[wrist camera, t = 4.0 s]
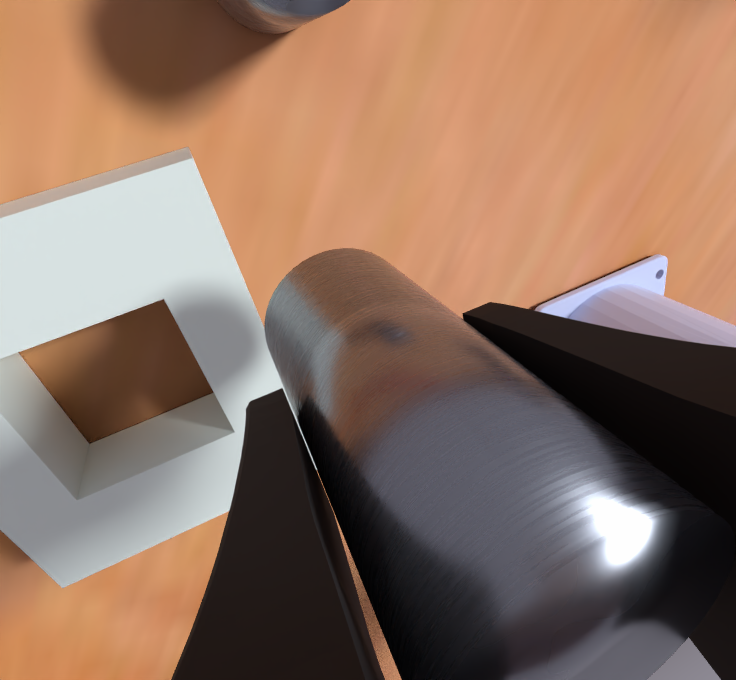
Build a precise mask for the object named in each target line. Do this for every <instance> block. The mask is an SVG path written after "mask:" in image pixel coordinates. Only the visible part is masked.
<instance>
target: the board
mask: <svg viewBox="0 0 736 680" xmlns="http://www.w3.org/2000/svg"><path fill="white" fill-rule="evenodd" d="M162 299H164V300H165V302H166V304H167V306H168V308H169V309H170V311H171V313H172V315H173V317H174V319H175V321H176V323H177V324H178V326H179V328H180V330H181V332H182V334H183V336H184V338H185V339H186V341H187V343H188V345H189V347H190V349H191V351H192V353H193V354H194V356H195V358H196V360H197V362H198V364H199V366H200V368H201V369H202V371H203V373H204V375H205V377H206V379H207V381H208V383H209V384H210V386H211V388H212V390H213V392H214V393H211V394H209V395H207V396H204V397H202V398H199V399H197V400H195V401H192V402H190V403H187V404H185V405H182V406H180V407H178V408H175V409H173V410H170V411H168V412H165V413H163V414H161V415H158V416H156V417H153V418H151V419H148V420H146V421H144V422H141V423H139V424H136V425H134V426H131V427H129V428H127V429H124V430H122V431H119V432H117V433H115V434H112V435H110V436H107V437H105V438H102V439H100V440H98V441H95V442H93V443H90V444H89V443H88V442H87V440H86V439H85V438H84V437H83V435H82V434H81V433H80V431H79V430H78V429H77V428H76V426H75V425H74V424H73V422H72V421H71V420H70V419H69V417H68V416H67V415H66V413H65V412H64V411H63V409H62V408H61V407H60V406H59V404H58V403H57V402H56V400H55V399H54V398H53V397H52V395H51V394H50V393H49V391H48V390H47V389H46V388H45V386H44V385H43V384H42V382H41V381H40V380H39V379H38V377H37V376H36V375H35V373H34V372H33V371H32V370H31V368H30V367H29V366H28V364H27V363H26V362H25V361H24V359H23V358H22V357H21V355H20V354H19V353H18V352H21V351H23V350H26V349H29V348H31V347H34V346H37V345H40V344H42V343H45V342H48V341H51V340H53V339H56V338H59V337H61V336H64V335H67V334H70V333H72V332H75V331H78V330H81V329H83V328H86V327H89V326H91V325H94V324H97V323H100V322H102V321H105V320H108V319H111V318H113V317H116V316H119V315H121V314H124V313H127V312H130V311H132V310H135V309H138V308H141V307H143V306H146V305H149V304H151V303H154V302H157V301H160V300H162ZM281 388H283V390H284V393H285V395H286V397H287V394H286V392H285V389H284V387H283V384H282V382H281V379H280V377H279V374H278V372H277V369H276V367H275V364H274V362H273V359H272V357H271V355H270V352H269V350H268V346H267V343H266V338H265V329H264V326H263V324H262V321H261V319H260V317H259V314H258V312H257V309H256V307H255V305H254V302H253V300H252V298H251V295H250V293H249V290H248V288H247V286H246V283H245V281H244V278H243V276H242V274H241V271H240V269H239V266H238V264H237V262H236V259H235V257H234V255H233V252H232V250H231V247H230V245H229V243H228V240H227V238H226V235H225V233H224V231H223V228H222V226H221V223H220V221H219V219H218V216H217V214H216V212H215V209H214V207H213V204H212V202H211V200H210V197H209V195H208V192H207V190H206V188H205V185H204V183H203V180H202V178H201V176H200V173H199V171H198V169H197V166H196V164H195V161H194V159H193V157H192V154H191V152H190V149H189V147H185V148H182V149H179V150H176V151H172V152H169V153H166V154H163V155H159V156H156V157H153V158H150V159H146V160H143V161H140V162H137V163H133V164H130V165H127V166H124V167H121V168H117V169H114V170H111V171H108V172H104V173H101V174H98V175H95V176H91V177H88V178H85V179H82V180H78V181H75V182H72V183H69V184H65V185H62V186H59V187H56V188H52V189H49V190H46V191H43V192H39V193H36V194H33V195H30V196H26V197H23V198H20V199H17V200H13V201H10V202H7V203H4V204H0V530H1V531H2V532H3V533H4V534H5V535H6V536H7V537H9V538H10V539H11V540H12V541H13V542H14V543H15V544H16V545H17V546H18V547H19V548H20V549H21V550H22V551H23V552H25V553H26V554H27V555H28V556H29V557H30V558H31V559H32V560H33V561H34V562H35V563H36V564H37V565H38V566H39V567H41V568H42V569H43V570H44V571H45V572H46V573H47V574H48V575H49V576H50V577H51V578H52V579H53V580H54V581H55V582H57V583H58V584H59V585H60V586H61V587H62V588H64V587H66V586H68V585H70V584H73V583H75V582H77V581H79V580H81V579H83V578H86V577H88V576H90V575H92V574H94V573H96V572H98V571H101V570H103V569H105V568H107V567H109V566H111V565H114V564H116V563H118V562H120V561H122V560H124V559H126V558H129V557H131V556H133V555H135V554H137V553H139V552H142V551H144V550H146V549H148V548H150V547H152V546H154V545H157V544H159V543H161V542H163V541H165V540H167V539H170V538H172V537H174V536H176V535H178V534H180V533H182V532H185V531H187V530H189V529H191V528H193V527H195V526H198V525H200V524H202V523H204V522H206V521H208V520H211V519H213V518H215V517H217V516H219V515H221V514H223V513H226V512H228V511H229V510H230V506H231V502H232V498H233V494H234V489H235V484H236V479H237V474H238V469H239V464H240V459H241V453H242V446H243V440H244V432H245V420H246V408H247V406H248V404H249V402H250V401H252V400H254V399H257V398H259V397H262V396H264V395H267V394H269V393H271V392H274V391H276V390H279V389H281ZM287 400H288V402H289V399H288V397H287ZM289 405H290V407H291V404H290V402H289ZM291 410H292V412H293V414H294V411H293V409H292V407H291ZM294 417H295V419H296V416H295V414H294ZM296 422H297V424H298V421H297V419H296ZM298 427H299V429H300V426H299V424H298ZM300 432H301V434H302V431H301V429H300ZM302 436H303V434H302ZM303 439H304V436H303ZM304 441H305V439H304ZM305 444H306V441H305ZM306 446H307V444H306ZM307 449H308V446H307ZM308 451H309V449H308ZM309 453H310V451H309ZM310 456H311V454H310ZM311 458H312V456H311ZM312 461H313V458H312ZM313 463H314V461H313ZM314 466H315V463H314ZM315 468H316V466H315ZM316 470H317V468H316Z"/></svg>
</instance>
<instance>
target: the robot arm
mask: <svg viewBox="0 0 736 680" xmlns="http://www.w3.org/2000/svg"><path fill="white" fill-rule="evenodd" d="M667 263H668V261H667V257H666V256H663V255H660V254H656V255H654V256H651V257H649V258H647V259H645V260H642V261H640V262H638V263H635V264H633V265H631V266H628V267H626V268H624V269H622V270H619V271H617V272H615V273H612V274H610V275H608V276H605V277H603V278H601V279H599V280H596V281H594V282H592V283H589V284H587V285H585V286H582V287H580V288H578V289H576V290H573V291H571V292H569V293H566V294H564V295H562V296H559V297H557V298H555V299H553V300H550V301H548V302H546V303H543V304H541V305H539V306H538V307H537V308H536V309H535V310H529V309H525V308H520V307H515V306H510V305H505V304H499V303H492V302H489V303H487V304H484V305H482V306H480V307H477V308H475V309H472V310H470V311H467V312H465V313H463V320H464V321H465V322H467V323H468V324H469V325H471V326H472V327H473V328H475V329H476V330H477V331H479V332H480V333H481V334H482V335H484V336H485V337H486V338H488V339H489V340H490V341H492V342H493V343H494V344H496V345H497V346H498V347H499V348H501V349H502V350H503V351H505V352H506V353H507V354H509V355H510V356H511V357H513V358H514V359H515V360H516V361H518V362H519V363H520V364H522V365H523V366H524V367H526V368H527V369H528V370H530V371H531V372H532V373H534V374H535V375H536V376H537V377H539V378H540V379H541V380H543V381H544V382H545V383H547V384H548V385H549V386H551V387H552V388H553V389H554V390H556V391H557V392H558V393H560V394H561V395H562V396H564V397H565V398H566V399H568V400H569V401H570V402H571V403H573V404H574V405H575V406H577V407H578V408H579V409H581V410H582V411H583V412H585V413H586V414H587V415H588V416H590V417H591V418H592V419H594V420H595V421H596V422H598V423H599V424H600V425H602V426H603V427H604V428H605V429H607V430H608V431H609V432H611V433H612V434H613V435H615V436H616V437H617V438H619V439H620V440H621V441H622V442H624V443H625V444H626V445H628V446H629V447H630V448H632V449H633V450H634V451H636V452H637V453H638V454H639V455H641V456H642V457H643V458H645V459H646V460H647V461H649V462H650V463H651V464H653V465H654V466H655V467H656V468H658V469H659V470H660V471H662V472H663V473H664V474H666V475H667V476H668V477H670V478H671V479H672V480H673V481H675V482H676V483H677V484H679V485H680V486H681V487H683V488H684V489H685V490H687V491H688V492H689V493H690V494H692V495H693V496H694V497H696V498H697V499H698V500H700V501H701V502H702V503H704V504H705V505H706V506H708V507H709V508H710V509H711V510H713V511H714V512H715V513H717V514H718V515H719V516H721V517H722V518H723V519H725V520H726V522H727V523H728V524H729V525H730V526H731V528H732V530H733V533H734V535H735V545H736V326H735V325H732V324H730V323H727V322H725V321H723V320H720V319H718V318H715V317H713V316H711V315H708V314H706V313H703V312H701V311H698V310H696V309H694V308H691V307H689V306H686V305H684V304H681V303H679V302H677V301H674V300H672V299H669V298H667V297H665V296H664V289H665V280H666V272H667ZM689 638H690V639H691V641H692V642H693V643H694V645H695V646H696V647H697V648H698V650H699V651H700V652H701V654H702V655H703V656H704V658H705V659H706V660H707V662H708V663H709V664H710V666H711V667H712V668H713V670H714V671H715V672H716V673H717V675H718V676H719V677H720V678H721V680H736V547H735V556H734V560H733V564H732V567H731V570H730V573H729V575H728V578H727V580H726V582H725V584H724V586H723V588H722V590H721V592H720V594H719V596H718V597H717V599H716V600H715V602H714V604H713V605H712V607H711V608H710V610H709V611H708V613H707V614H706V615H705V617H704V618H703V620H702V621H701V622H700V624H699V625H698V626H697V627H696V629H695V630H694V631H693V632H692V633H691V635H690V636H689ZM171 680H385V678H384V676H383V673H382V671H381V668H380V665H379V662H378V659H377V656H376V653H375V650H374V647H373V644H372V641H371V638H370V635H369V632H368V629H367V625H366V622H365V618H364V615H363V611H362V608H361V605H360V601H359V598H358V594H357V591H356V587H355V584H354V581H353V577H352V574H351V570H350V567H349V563H348V560H347V557H346V553H345V550H344V546H343V543H342V539H341V536H340V533H339V529H338V526H337V522H336V519H335V516H334V513H333V510H332V508H331V505H330V503H329V500H328V498H327V495H326V493H325V490H324V488H323V485H322V483H321V480H320V478H319V476H318V473H317V471H316V468H315V466H314V463H313V461H312V458H311V456H310V453H309V451H308V449H307V446H306V444H305V441H304V439H303V436H302V434H301V432H300V429H299V427H298V424H297V422H296V419H295V417H294V414H293V412H292V410H291V407H290V405H289V402H288V400H287V397H286V395H285V393H284V390H283V388H281V389H279V390H276V391H274V392H271V393H269V394H267V395H264V396H262V397H259V398H257V399H254V400H252V401H250V402H249V404H248V406H247V408H246V420H245V432H244V440H243V446H242V453H241V459H240V464H239V469H238V474H237V479H236V484H235V489H234V494H233V498H232V502H231V506H230V510H229V514H228V517H227V521H226V525H225V528H224V532H223V536H222V539H221V543H220V547H219V551H218V554H217V557H216V560H215V563H214V567H213V570H212V573H211V576H210V579H209V582H208V585H207V588H206V591H205V594H204V597H203V599H202V602H201V605H200V608H199V610H198V613H197V616H196V619H195V622H194V624H193V627H192V630H191V632H190V635H189V637H188V640H187V642H186V645H185V647H184V650H183V652H182V655H181V657H180V659H179V662H178V664H177V667H176V669H175V672H174V674H173V677H172V679H171Z"/></svg>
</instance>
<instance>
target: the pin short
mask: <svg viewBox="0 0 736 680" xmlns="http://www.w3.org/2000/svg"><path fill="white" fill-rule="evenodd" d="M217 1H218V3H219V4H220V5H221V7H222V8H223V9H224V10H225V11H226V12H227V13H228V14H229V15H230V16H231V17H232V18H233V19H235V20H236V21H237V22H238V23H240V24H242V25H243V26H245V27H247V28H249V29H251V30H253V31H256V32H260V33H265V34H280V33H285V32H288V31H291V30H293V29H295V28H298V27H300V26H302V25H304V24H306V23H308V22H310V21H312V20H314V19H317V18H319V17H321V16H323V15H325V14H327V13H329V12H331V11H334V10H336V9H338V8H339V7H341V6H343V5H345V4H346V3H347V2H349V1H350V0H217Z"/></svg>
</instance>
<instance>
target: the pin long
mask: <svg viewBox="0 0 736 680" xmlns="http://www.w3.org/2000/svg"><path fill="white" fill-rule="evenodd" d="M265 338H266V343H267V346H268V350H269V352H270V355H271V357H272V359H273V362H274V364H275V367H276V369H277V372H278V374H279V377H280V379H281V382H282V384H283V387H284V389H285V392H286V394H287V397H288V399H289V402H290V404H291V407H292V409H293V411H294V414H295V416H296V419H297V421H298V424H299V426H300V429H301V431H302V434H303V436H304V439H305V441H306V444H307V446H308V449H309V451H310V454H311V456H312V458H313V461H314V463H315V466H316V468H317V471H318V473H319V476H320V478H321V481H322V483H323V486H324V488H325V491H326V493H327V496H328V498H329V501H330V503H331V506H332V508H333V510H334V513H335V515H336V518H337V520H338V523H339V525H340V528H341V530H342V533H343V535H344V538H345V540H346V543H347V545H348V548H349V550H350V553H351V555H352V558H353V560H354V562H355V565H356V567H357V570H358V572H359V575H360V577H361V580H362V582H363V585H364V587H365V590H366V592H367V595H368V597H369V600H370V602H371V605H372V607H373V610H374V612H375V614H376V617H377V619H378V622H379V624H380V627H381V629H382V632H383V634H384V637H385V639H386V642H387V644H388V647H389V649H390V652H391V654H392V657H393V659H394V661H395V664H396V666H397V669H398V671H399V674H400V676H401V679H402V680H647V679H648V678H649V677H650V676H651V675H652V674H653V673H654V672H655V671H656V670H658V669H659V668H660V667H661V666H662V665H663V664H664V663H665V662H666V661H667V660H668V659H669V658H670V657H671V656H672V655H673V654H674V653H675V652H676V650H677V649H678V648H679V647H680V646H681V645H682V644H683V643H684V642H685V641H686V639H687V638H688V637H689V636H690V635H691V633H692V632H693V631H694V630H695V629H696V627H697V626H698V625H699V624H700V622H701V621H702V620H703V618H704V617H705V615H706V614H707V613H708V611H709V610H710V608H711V607H712V605H713V604H714V602H715V600H716V599H717V597H718V596H719V594H720V592H721V590H722V588H723V586H724V584H725V582H726V580H727V578H728V575H729V573H730V570H731V567H732V564H733V560H734V556H735V547H736V545H735V535H734V533H733V530H732V528H731V526H730V525H729V524H728V523H727V522H726V520H725V519H723V518H722V517H721V516H719V515H718V514H717V513H715V512H714V511H713V510H711V509H710V508H709V507H708V506H706V505H705V504H704V503H702V502H701V501H700V500H698V499H697V498H696V497H694V496H693V495H692V494H690V493H689V492H688V491H687V490H685V489H684V488H683V487H681V486H680V485H679V484H677V483H676V482H675V481H673V480H672V479H671V478H670V477H668V476H667V475H666V474H664V473H663V472H662V471H660V470H659V469H658V468H656V467H655V466H654V465H653V464H651V463H650V462H649V461H647V460H646V459H645V458H643V457H642V456H641V455H639V454H638V453H637V452H636V451H634V450H633V449H632V448H630V447H629V446H628V445H626V444H625V443H624V442H622V441H621V440H620V439H619V438H617V437H616V436H615V435H613V434H612V433H611V432H609V431H608V430H607V429H605V428H604V427H603V426H602V425H600V424H599V423H598V422H596V421H595V420H594V419H592V418H591V417H590V416H588V415H587V414H586V413H585V412H583V411H582V410H581V409H579V408H578V407H577V406H575V405H574V404H573V403H571V402H570V401H569V400H568V399H566V398H565V397H564V396H562V395H561V394H560V393H558V392H557V391H556V390H554V389H553V388H552V387H551V386H549V385H548V384H547V383H545V382H544V381H543V380H541V379H540V378H539V377H537V376H536V375H535V374H534V373H532V372H531V371H530V370H528V369H527V368H526V367H524V366H523V365H522V364H520V363H519V362H518V361H516V360H515V359H514V358H513V357H511V356H510V355H509V354H507V353H506V352H505V351H503V350H502V349H501V348H499V347H498V346H497V345H496V344H494V343H493V342H492V341H490V340H489V339H488V338H486V337H485V336H484V335H482V334H481V333H480V332H479V331H477V330H476V329H475V328H473V327H472V326H471V325H469V324H468V323H467V322H465V321H464V320H463V319H462V318H460V317H459V316H458V315H456V314H455V313H454V312H452V311H451V310H450V309H448V308H447V307H446V306H445V305H443V304H442V303H441V302H439V301H438V300H437V299H435V298H434V297H433V296H431V295H430V294H429V293H428V292H426V291H425V290H424V289H422V288H421V287H420V286H418V285H417V284H416V283H414V282H413V281H412V280H411V279H409V278H408V277H407V276H405V275H404V274H403V273H401V272H400V271H399V270H397V269H396V268H395V267H394V266H392V265H391V264H390V263H388V262H387V261H385V260H384V259H382V258H381V257H379V256H377V255H375V254H373V253H371V252H367V251H364V250H359V249H350V248H342V249H334V250H329V251H325V252H322V253H319V254H317V255H314V256H312V257H310V258H308V259H307V260H305V261H303V262H302V263H300V264H299V265H297V266H296V267H295V268H293V269H292V270H291V271H290V272H289V273H288V274H287V275H286V276H285V277H284V279H283V280H282V281H281V282H280V283H279V285H278V287H277V288H276V290H275V291H274V293H273V295H272V297H271V299H270V302H269V305H268V308H267V311H266V317H265Z"/></svg>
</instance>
